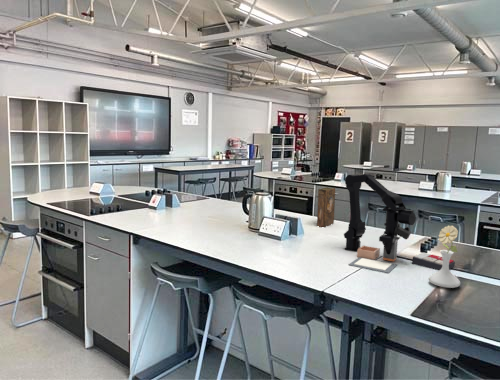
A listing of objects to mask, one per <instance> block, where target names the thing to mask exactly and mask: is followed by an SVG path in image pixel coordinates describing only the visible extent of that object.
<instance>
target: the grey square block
mask: <svg viewBox="0 0 500 380" xmlns="http://www.w3.org/2000/svg"><path fill="white" fill-rule="evenodd" d="M395 241H396V242H395V243H393V244H392V248H391V252H390V254H387V252H386V250H385V247H384V246H383V255H382V260H384V261H389V262H395V261H396V260H397V258H398V257H397V256H398V255H397V254H398V239H396V238H395Z"/></svg>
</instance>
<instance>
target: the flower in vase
mask: <svg viewBox="0 0 500 380" xmlns="http://www.w3.org/2000/svg"><path fill="white" fill-rule="evenodd" d="M458 235H459V230H458V229H457V227H455V226H454V225H447V226H444V227H443V228H441V230H439V234H438V237H439V238H438V241H439V242H440V243H442V246H444V247H445V248H447V249H448V250H447V249H441V250H439V252H440V254H441V257H442V258H443V264H442V268H441V270H437V271H436V272H434V273H432V274H431V275H429V277H428V281H429V282H430V283H431V284H433V285H435V286H438V287H441V288H447V289H451V288H452V289H454V288H458V287H459V286H461V281H460V279H458V277H457V276H455V274H453V273H452V272H451V270H449V260H450V259H451V257H452V256H453V255H454V253H458V249H457V245H453V242H454V241H455V240H456V238H457V237H458ZM447 244H448V245H449V244H451V246H450V247H449V246H448V245H447Z"/></svg>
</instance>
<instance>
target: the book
mask: <svg viewBox="0 0 500 380" xmlns="http://www.w3.org/2000/svg"><path fill="white" fill-rule="evenodd" d="M317 191H318V193H317V194H318V195H317V214H316V215H317V216H316V217H317V219H316V227H317V226H319V227H318V228H322V227H324V228H326V226H327V227H329V226H331V224H332V225H333V224H334V222H335V206H336V205H335V203H336V201H335V200H336V187H333V188H331V187H323V188H319V189H318V190H317Z"/></svg>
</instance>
